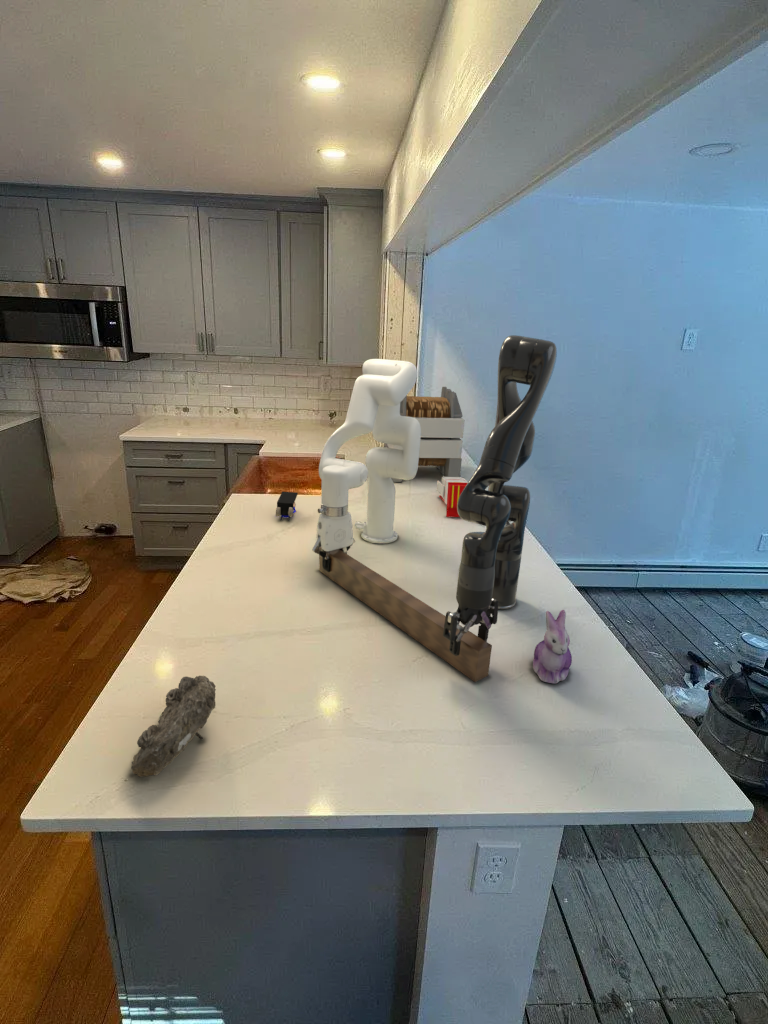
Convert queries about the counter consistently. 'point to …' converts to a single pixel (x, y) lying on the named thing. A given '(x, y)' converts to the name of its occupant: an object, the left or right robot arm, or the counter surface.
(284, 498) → the figurine character
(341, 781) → the counter surface
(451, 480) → the toy
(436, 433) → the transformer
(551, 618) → the figurine
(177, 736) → the fossil
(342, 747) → the counter surface
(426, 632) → the beam
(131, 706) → the counter surface
